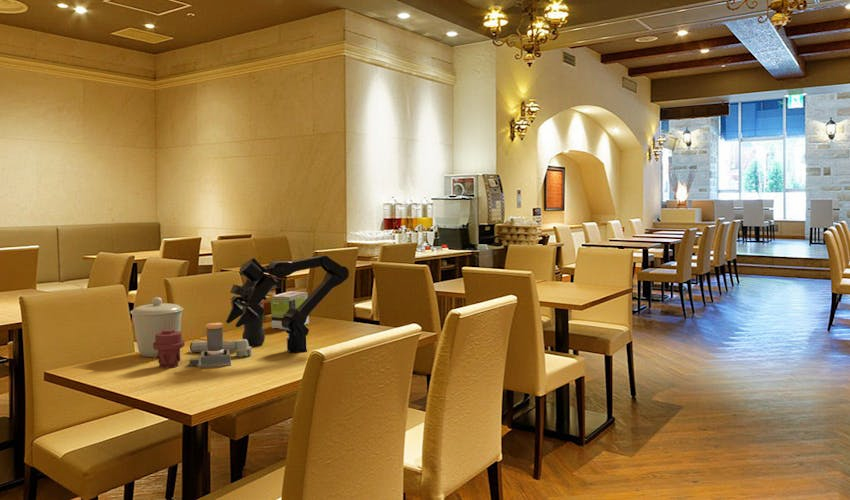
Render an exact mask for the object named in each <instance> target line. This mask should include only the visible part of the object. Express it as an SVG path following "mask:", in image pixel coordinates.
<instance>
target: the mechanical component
mask: <svg viewBox="0 0 850 500" xmlns="http://www.w3.org/2000/svg"><path fill="white" fill-rule="evenodd" d="M182 335H183V334H182V332H181V331H180V332H179V331H175V330H174V329H167V330H163V331H162V332H159V333H157V334H155V343H153V348H154V349H155V350H158V357H157V359H158V360H157V363H158V364H159V366H158V367H159V368H160V369H164V368H178V367H179V363H180V362H181V349H182V348H184V347H185V345H186V344H185V340H183V337H182Z"/></svg>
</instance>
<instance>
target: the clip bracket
mask: <svg viewBox="0 0 850 500" xmlns="http://www.w3.org/2000/svg"><path fill="white" fill-rule="evenodd" d="M230 351H231V350H228V349H226V350H224V355H216V356H208V354H207V351H202V352H201V353H200V357H193V358H191V357H190V358H189V360H188V363H189V364H188V365H189V367H196V369H201V368H202V369H203V368H215V367H216V368H217V367H227V366H232V359H231V357H232V356H231V352H230Z"/></svg>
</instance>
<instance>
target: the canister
mask: <svg viewBox="0 0 850 500" xmlns="http://www.w3.org/2000/svg"><path fill="white" fill-rule="evenodd" d="M151 303H152V304H151ZM151 303H149V304H144V305H138V306H136V307H135V308H133V309H132V310H130V314H131V315H132V321H133V327H134V334H135V339H136V344H137V349H138V352H139V353H140V355H141V356H143V357H146V358H147V357H148V358H158V350H155V349H154V348H153V343H155V334H157V333H159V332H162V331H163V330H167V329H174V330H175V331H179V332H181V329H182V326H181V325H182V315H183V311H184V307H182V306H180V305H179V304H176V303H163V299H162V298H161V297H159V296H156V297H153V298H152V300H151Z"/></svg>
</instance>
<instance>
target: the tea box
mask: <svg viewBox="0 0 850 500" xmlns="http://www.w3.org/2000/svg"><path fill="white" fill-rule="evenodd" d="M308 294H309V293H308V292H307V291H285V292H282V293H278V294H273V295H270V312H271V313H270V314H271V328H272V329H274V328H279V329H278V330H285V329H284V328H283V327H282V324H281V322H282V321H281V320H282V318H283V317H284V316H283V315H284V314H285V313H287V311H288V310H289V309H290V308H294V309H296V308H298V307H299V306H300V305H301V304H302V303H303V302H304V301H305V300H306V299H307V298H308V296H309V295H308ZM309 324H310V317H309V315H308V317H307V320H306V322H305V324H304V326H306V325H309Z"/></svg>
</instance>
